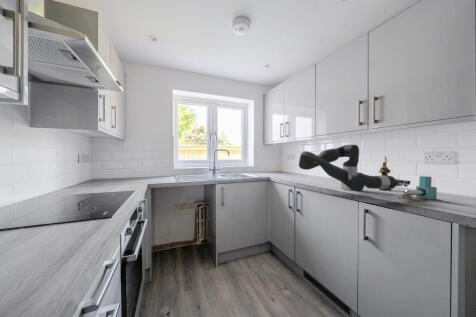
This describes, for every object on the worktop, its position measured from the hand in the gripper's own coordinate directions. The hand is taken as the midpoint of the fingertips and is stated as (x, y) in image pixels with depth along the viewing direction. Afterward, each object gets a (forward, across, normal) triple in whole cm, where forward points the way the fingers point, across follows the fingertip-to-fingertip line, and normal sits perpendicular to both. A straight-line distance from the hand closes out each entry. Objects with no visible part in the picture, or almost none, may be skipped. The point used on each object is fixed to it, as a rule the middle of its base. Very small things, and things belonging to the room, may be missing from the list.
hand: (408, 182), depth 110 cm
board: (+7, +1, -10) cm, 12 cm away
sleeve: (+10, +1, -9) cm, 14 cm away
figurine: (+16, -29, -11) cm, 35 cm away
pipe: (+7, +1, -10) cm, 12 cm away
